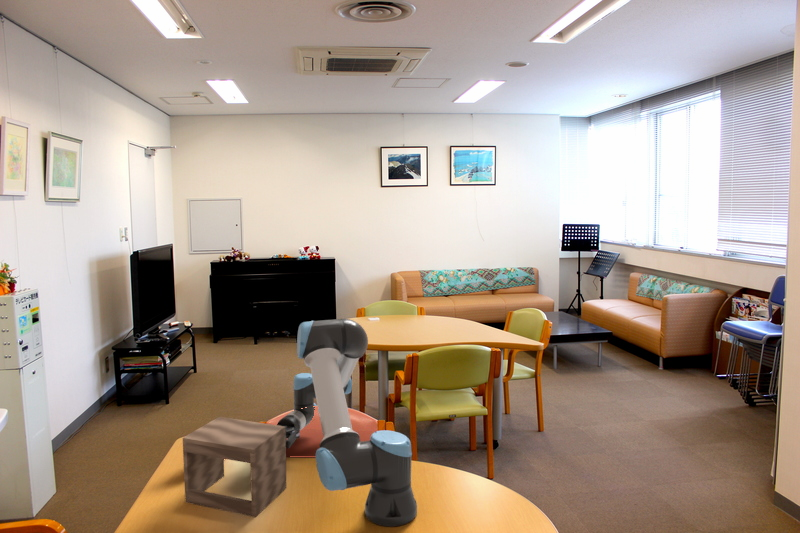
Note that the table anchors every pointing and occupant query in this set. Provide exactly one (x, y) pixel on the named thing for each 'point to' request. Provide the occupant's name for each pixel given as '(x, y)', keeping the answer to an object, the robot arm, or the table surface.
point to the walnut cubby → (238, 444)
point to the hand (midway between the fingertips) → (256, 451)
